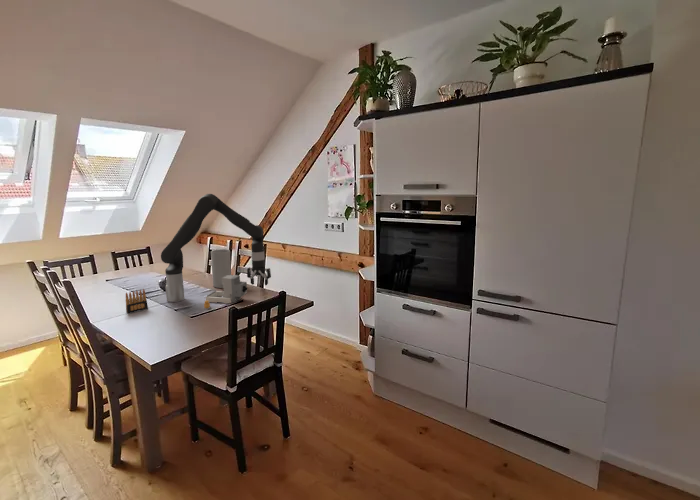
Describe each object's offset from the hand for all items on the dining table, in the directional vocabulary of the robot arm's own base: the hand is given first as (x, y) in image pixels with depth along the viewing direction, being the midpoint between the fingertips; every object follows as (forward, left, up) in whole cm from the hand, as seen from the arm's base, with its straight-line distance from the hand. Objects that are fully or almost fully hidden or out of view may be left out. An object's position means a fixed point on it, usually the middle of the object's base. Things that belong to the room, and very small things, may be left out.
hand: (259, 284), depth 218 cm
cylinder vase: (-40, +27, -11) cm, 49 cm away
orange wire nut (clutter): (-27, -15, -11) cm, 32 cm away
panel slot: (-24, 0, -11) cm, 26 cm away
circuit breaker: (-16, 0, -11) cm, 19 cm away
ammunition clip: (-63, -27, -11) cm, 69 cm away
